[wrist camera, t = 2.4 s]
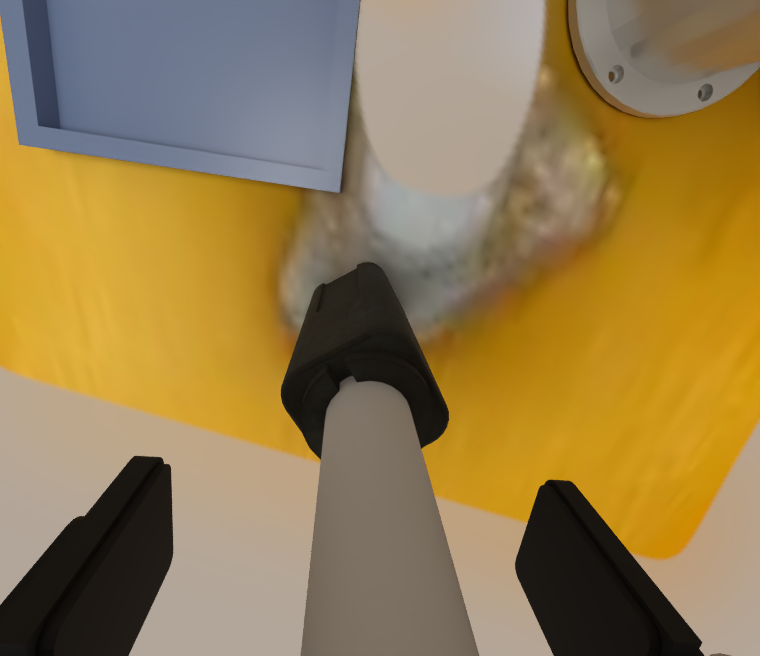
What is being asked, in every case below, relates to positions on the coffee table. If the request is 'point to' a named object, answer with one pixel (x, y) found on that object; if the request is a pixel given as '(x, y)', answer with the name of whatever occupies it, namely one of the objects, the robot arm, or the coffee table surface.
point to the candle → (373, 479)
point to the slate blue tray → (188, 83)
